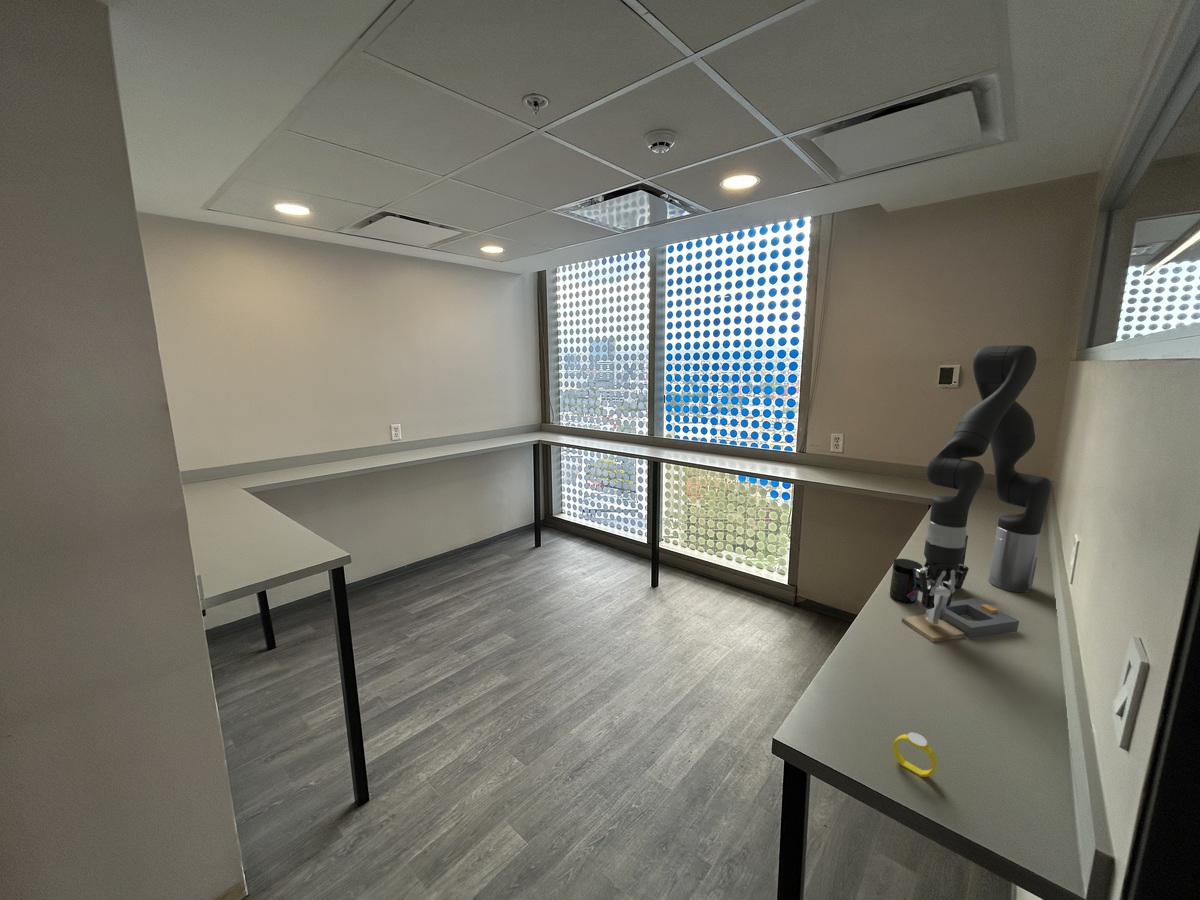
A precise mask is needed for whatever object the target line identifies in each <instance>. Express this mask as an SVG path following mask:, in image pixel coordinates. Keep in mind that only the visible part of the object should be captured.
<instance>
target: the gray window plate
mask: <svg viewBox="0 0 1200 900" xmlns="http://www.w3.org/2000/svg"><path fill="white" fill-rule="evenodd" d="M962 616H967V617H969V618H970V619H972V620H974V621H969V620H968V619H966V618H964V617H962ZM942 620H943V621H945V622H947V623H948V624H950V625H952V626H953V627H955V628H957V629H958V630H960V631H962V632H963V633H965V635H964V638H967V639H969V640H975V639H980V638H986V637H992V636H999V635H1006V634H1011V633H1013V634H1014V633H1018V629H1019V624H1020V623H1019V622H1020V620H1018V619H1016V618H1015V617H1013V616H1011V615H1009V614H1008V613H1005V612H1003V611H1001V610H999V609H997V608H995V607H994V606H992V605H990V604H988V603H985V602H984V601H982V600H980V599H978V598H969V599H962V600H961V599H960V600H954V601H952V600H951V603H950V606H948V607H946V609H945V612H944V616H943V619H942Z"/></svg>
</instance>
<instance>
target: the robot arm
mask: <svg viewBox="0 0 1200 900" xmlns="http://www.w3.org/2000/svg"><path fill="white" fill-rule="evenodd" d="M1036 365H1037V352H1036V350H1035V348H1033V346H1030V345H1024V344H1014V345H1013V344H1009V345H989V346H982V347H980V348H979V349H978V350H977V351H976V353H975V354H974V356H973V362H972V368H973V369H972V370H973V375H974V380H975V384H976V386H977V389H978V392H979V395H980V398H981V401H980V402H978V403H977V404H976V405H974V406H973V407H971V408H970V409H969V410H968V411H967V412H966V413H965V414H964V415H962V417H961V419H960V421H959V422H958V424H957V426H956V428H955V431H954V432H953V435H952V437H951V439H950V440H949V441H948V442H947V443H946V444H945V445H944V446H943V447H942V448H941V449H940V451H938V452H937V453H936V454H935V456H934V457H932V459H930V461H929V463H928V465H927V467H926V478H927V480H928V481H929V482H930V483H931V484H933V485H936V486H938V487H944V488H949V489H954V490H958V493H957V494H956V495H939V496H935V497H934V498H933V500H932V502H931V508H930V515H929V516H930V517H929V520H928V521H929V522H928V524H927V529H926V536H925V543H924V549H923V550H924V551H923V555H924V558H925V563H924V564H923V566H922V568H921V569H917V568H914V569H913V575H914V583H915V589H916V590H918V591H919V592H920V593H922V595H921V603H920V604H921V605H922V607H923V608H926V609H932V606H933V599H934V595H933V594H934V592H935V590H936V588H938V587H939V586H940V583H941V584H942V586H943V587H946V588H947V589H949V590H950V592H951V594H950V597H949V600H948V603H947V605H946V607H948V606H950V603H951V602H952V599H953V593H954V592H956V591H957V590H958V591H959V590H961V589H962V587H963V584H964V583H965V580H966V578H967V577H966V576H967V574H968V572H969V567H968V566H966V565H965V564H964V565H962V564H960V563H962V559H963V553H964V546H965V540H966V535H967V524H968V516H969V511H970V507H971V505H972V502H973V500H974V498H975V496H976V493H977V492H978V490H979V488H980V487H981V485H982V484H983V481H984V479H985V470H984V467H983V465H982V464H981V463H980V462H978V461H975V460H972V459H971V460H970V459H966V458H977V457H978V458H979V457H981V456H983V455H984V454H985V453H986V451H987V450H988V447H989V445H990V448H991V452H992V458H993V466H994V482H995V485H994V486H995V493H996V496H997V498H998V500H999V501H1001V502H1003V503H1006V504H1008V505H1013V506H1017V507H1022V508H1025V511H1024V512H1023V513H1017V514H1016V513H1013V514H1004V515H1000V516H999V517H998V521H997V527H996V531H995V532H996V533H995V538H994V543H993V550H992V554H991V555H992V556H991V561H990V562H991V563H990V567H989V575H988V579H987V581H988V582H989V583H990V584H991V585H993V586H995V587H996V588H1000V589H1003V590H1005V591H1010V592H1015V593H1027V592H1028V591H1030V589H1032V588H1033V583H1034V578H1035V573H1036V567H1037V562H1038V556H1037V552H1038V546H1039V540H1040V535H1041V530H1042V527H1043V523H1044V519H1045V516H1046V515H1045V514H1046V510H1047V506H1048V502H1049V499H1050V496H1051V495H1050V494H1051V491H1052V489H1051V488H1052V485H1051V484H1052V483H1051V481H1050V479H1049V478H1048V477H1045V476H1042V475H1041V476H1040V475H1036V474H1035V475H1034V474H1030V473H1024V472H1018V471H1017V470H1016V468H1015V465H1016V464H1017V463H1018V461H1019V460H1020V459H1021V458H1022V457H1024V456H1025V455H1026V454H1027V453H1029V452H1030V450H1031V449H1032V447H1034V444H1035V442H1036V431H1035V425H1034V420H1033V418H1032V416H1031V414H1030V412H1028V411H1027V410H1026V409H1025V408H1024V407H1023V406H1022V405H1021V404H1019V402H1018V401H1016V400H1017V399H1018V398H1019V396H1020V394H1021V393H1022V391H1023V390H1024V388H1025V387H1026V386H1027V385H1028V383H1029V381H1030V380H1031V378H1032V376H1033V374H1034V372H1035V369H1036ZM956 578H958V582H957V583H956V582H955V580H956ZM930 579H932V580H933V581H935V582H932V581H930ZM929 585H931V587H930V589H928V586H929ZM956 589H957V590H956ZM954 594H955V593H954Z"/></svg>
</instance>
